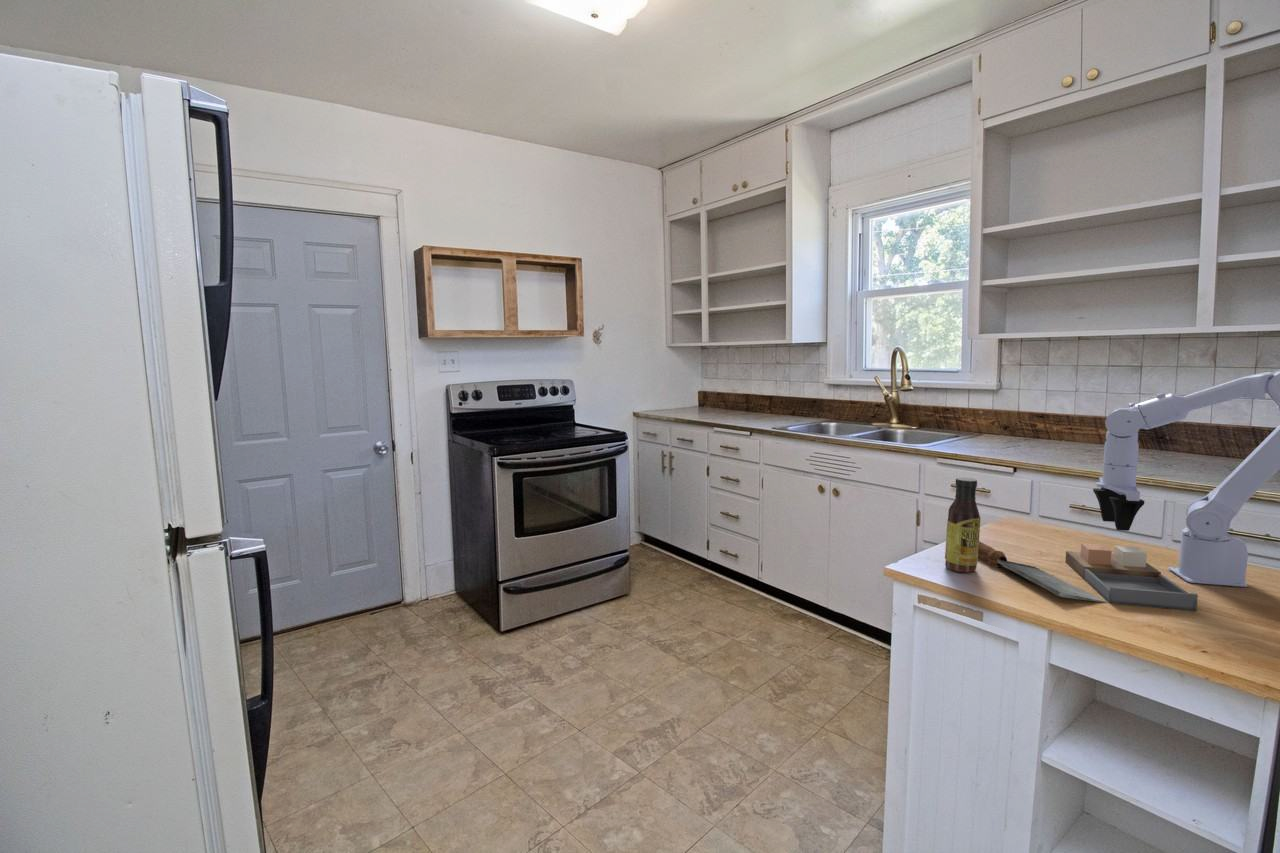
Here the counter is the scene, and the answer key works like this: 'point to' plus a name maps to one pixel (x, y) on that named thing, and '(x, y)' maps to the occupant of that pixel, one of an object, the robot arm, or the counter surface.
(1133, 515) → the robot arm
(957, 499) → the sauce bottle
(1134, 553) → the pale grey cube
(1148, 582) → the charcoal tray
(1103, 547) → the peach matte cube
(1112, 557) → the walnut board
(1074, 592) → the meat cleaver
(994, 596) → the counter surface
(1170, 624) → the counter surface
